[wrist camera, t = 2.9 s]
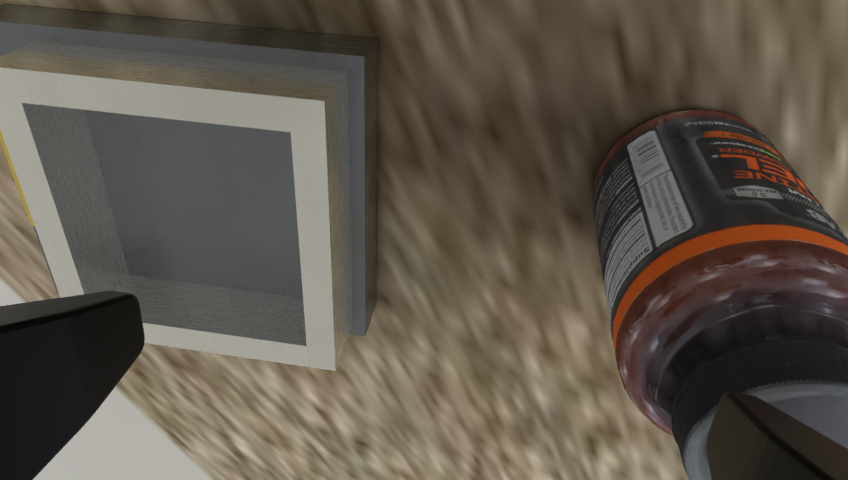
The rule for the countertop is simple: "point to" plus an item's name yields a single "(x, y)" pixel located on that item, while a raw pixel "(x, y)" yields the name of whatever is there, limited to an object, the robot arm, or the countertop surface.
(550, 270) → the countertop surface
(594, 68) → the countertop surface
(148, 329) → the plate
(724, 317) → the supplement bottle
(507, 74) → the countertop surface
